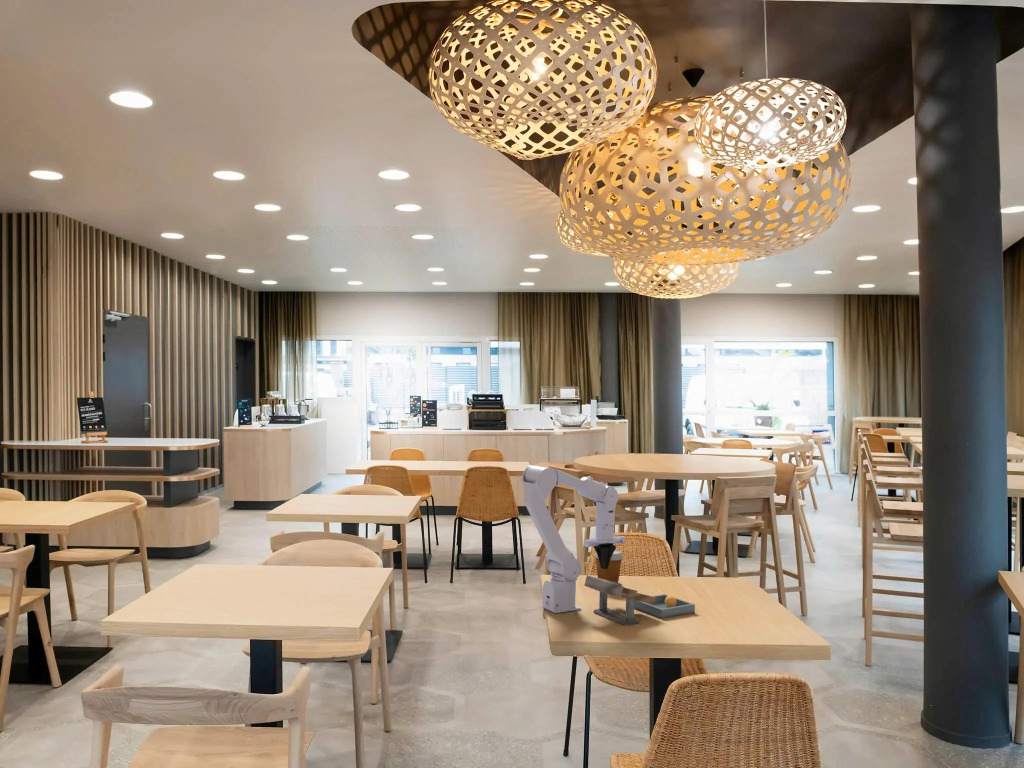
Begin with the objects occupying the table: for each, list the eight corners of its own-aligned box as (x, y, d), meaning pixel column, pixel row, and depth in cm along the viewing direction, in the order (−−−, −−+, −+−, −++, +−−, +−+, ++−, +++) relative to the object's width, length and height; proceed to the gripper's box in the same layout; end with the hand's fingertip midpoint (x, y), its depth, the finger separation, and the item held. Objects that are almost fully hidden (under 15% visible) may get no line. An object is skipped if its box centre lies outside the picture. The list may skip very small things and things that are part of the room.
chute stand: (625, 625, 218) (626, 600, 218) (593, 612, 230) (594, 588, 230) (639, 623, 221) (639, 598, 221) (607, 610, 233) (607, 586, 233)
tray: (661, 618, 226) (661, 609, 226) (632, 607, 237) (632, 599, 237) (694, 612, 233) (694, 604, 233) (664, 602, 244) (664, 594, 244)
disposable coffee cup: (621, 592, 255) (622, 555, 255) (592, 589, 257) (593, 553, 257) (623, 585, 264) (624, 549, 264) (595, 583, 266) (595, 547, 266)
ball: (680, 603, 236) (673, 611, 235) (672, 601, 239) (665, 608, 238) (676, 594, 235) (668, 602, 234) (668, 592, 238) (660, 599, 237)
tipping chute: (603, 593, 217) (606, 582, 218) (567, 579, 232) (570, 569, 232) (654, 605, 227) (656, 594, 228) (617, 591, 242) (619, 581, 242)
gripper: (594, 528, 235) (593, 573, 235) (631, 524, 242) (631, 568, 242) (580, 524, 241) (579, 568, 241) (617, 520, 249) (616, 563, 248)
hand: (604, 568), depth 242 cm, fingers closed
